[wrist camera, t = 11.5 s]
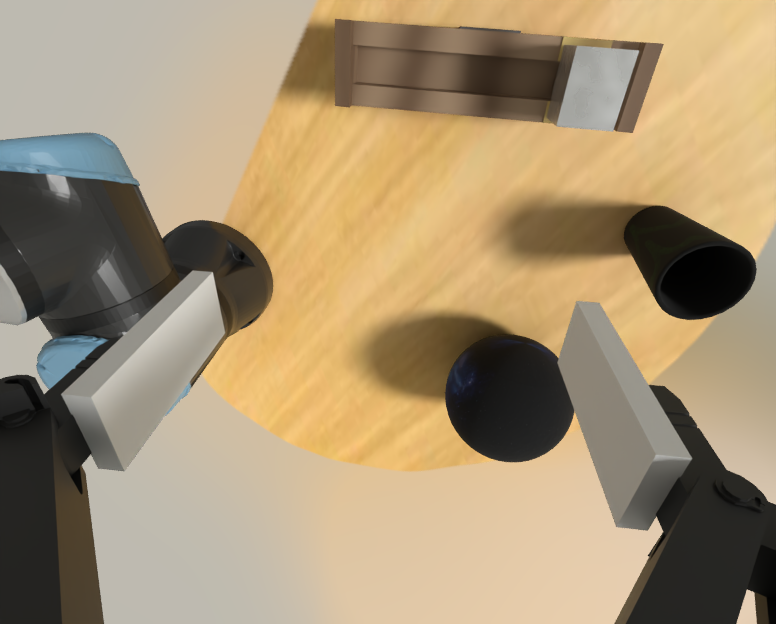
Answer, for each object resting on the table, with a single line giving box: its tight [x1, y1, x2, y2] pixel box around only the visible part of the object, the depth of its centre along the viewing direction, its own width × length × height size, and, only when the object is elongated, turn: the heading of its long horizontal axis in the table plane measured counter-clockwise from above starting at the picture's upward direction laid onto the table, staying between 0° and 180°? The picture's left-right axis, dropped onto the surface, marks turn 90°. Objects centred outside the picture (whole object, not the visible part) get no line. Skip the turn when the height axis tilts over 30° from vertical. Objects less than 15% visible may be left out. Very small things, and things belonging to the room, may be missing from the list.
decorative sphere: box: [445, 335, 574, 462], centre depth 53 cm, size 15×15×15 cm
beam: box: [335, 19, 663, 133], centre depth 37 cm, size 24×6×9 cm, turn 86°
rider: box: [547, 45, 639, 131], centre depth 33 cm, size 4×5×7 cm
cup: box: [624, 206, 756, 320], centre depth 42 cm, size 8×8×12 cm
